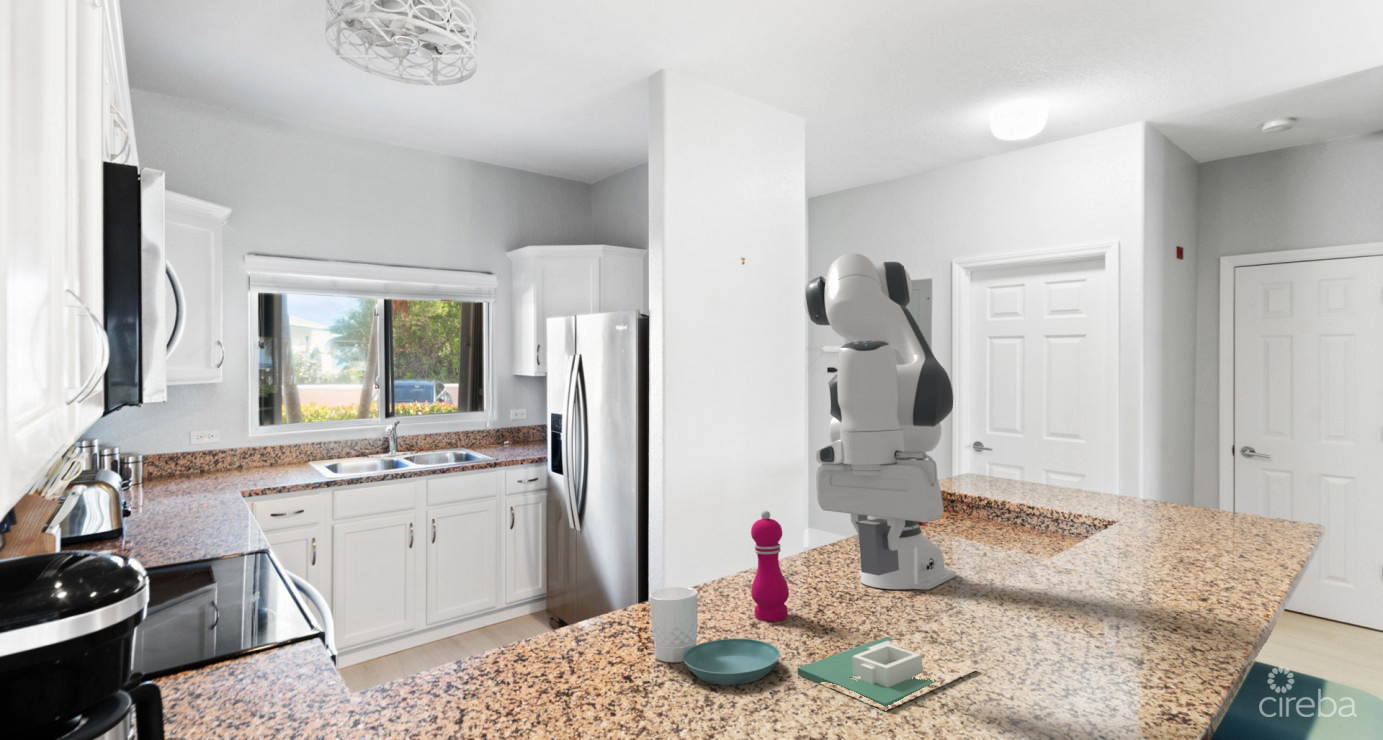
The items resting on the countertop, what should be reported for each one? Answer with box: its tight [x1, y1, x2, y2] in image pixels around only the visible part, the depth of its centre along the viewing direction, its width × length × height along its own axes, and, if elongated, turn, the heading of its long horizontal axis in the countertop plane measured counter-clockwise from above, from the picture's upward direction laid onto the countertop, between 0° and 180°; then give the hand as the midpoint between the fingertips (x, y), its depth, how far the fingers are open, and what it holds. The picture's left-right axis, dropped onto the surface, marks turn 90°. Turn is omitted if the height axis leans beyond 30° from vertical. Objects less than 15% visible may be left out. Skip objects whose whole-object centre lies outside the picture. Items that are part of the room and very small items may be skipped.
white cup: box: [649, 586, 699, 664], centre depth 107 cm, size 8×8×10 cm
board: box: [796, 636, 936, 707], centre depth 95 cm, size 20×16×4 cm
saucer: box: [683, 637, 781, 686], centre depth 99 cm, size 15×15×3 cm
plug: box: [858, 519, 899, 576], centre depth 94 cm, size 4×3×7 cm, turn 125°
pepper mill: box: [750, 510, 790, 622], centre depth 126 cm, size 7×7×20 cm
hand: (879, 547), depth 94 cm, fingers closed on plug, 3 cm apart
